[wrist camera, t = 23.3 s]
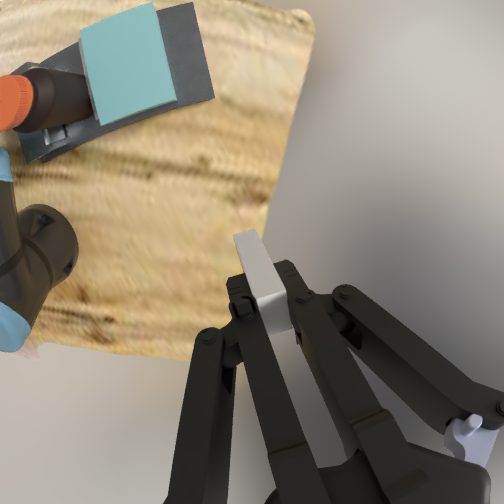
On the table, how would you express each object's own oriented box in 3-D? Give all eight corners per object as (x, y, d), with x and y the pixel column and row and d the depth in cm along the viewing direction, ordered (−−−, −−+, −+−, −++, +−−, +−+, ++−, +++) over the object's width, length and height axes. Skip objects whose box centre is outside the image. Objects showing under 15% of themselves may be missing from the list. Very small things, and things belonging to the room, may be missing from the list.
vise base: (48, 160, 33) (24, 173, 27) (27, 75, 25) (0, 75, 18) (214, 98, 35) (218, 95, 29) (192, 6, 27) (193, -14, 20)
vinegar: (67, 128, 30) (-16, 157, 14) (57, 88, 27) (-29, 91, 10) (107, 109, 31) (36, 119, 14) (97, 68, 27) (23, 48, 10)
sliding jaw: (110, 124, 32) (96, 127, 27) (90, 40, 25) (75, 32, 19) (177, 100, 33) (174, 99, 28) (157, 15, 25) (152, 2, 20)
